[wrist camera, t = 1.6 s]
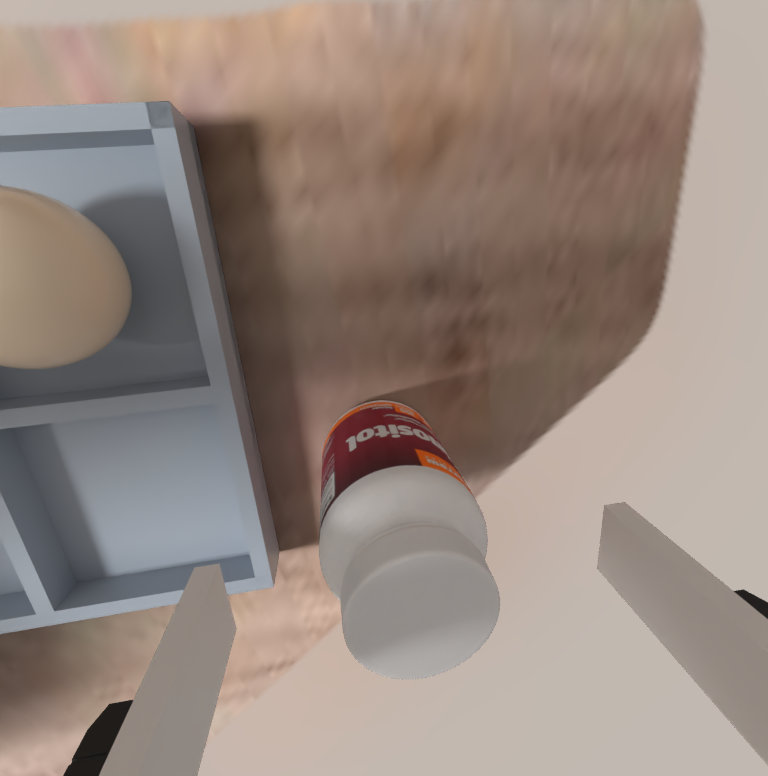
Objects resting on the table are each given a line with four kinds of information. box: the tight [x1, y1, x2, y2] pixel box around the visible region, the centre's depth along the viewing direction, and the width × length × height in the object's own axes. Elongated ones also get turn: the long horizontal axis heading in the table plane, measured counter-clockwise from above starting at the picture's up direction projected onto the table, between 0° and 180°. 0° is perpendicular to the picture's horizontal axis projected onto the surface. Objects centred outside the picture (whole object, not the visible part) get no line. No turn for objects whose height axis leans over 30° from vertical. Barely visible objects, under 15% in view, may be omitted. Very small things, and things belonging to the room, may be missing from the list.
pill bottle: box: [319, 400, 500, 679], centre depth 16 cm, size 6×6×11 cm
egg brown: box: [0, 185, 132, 369], centre depth 13 cm, size 6×6×6 cm
